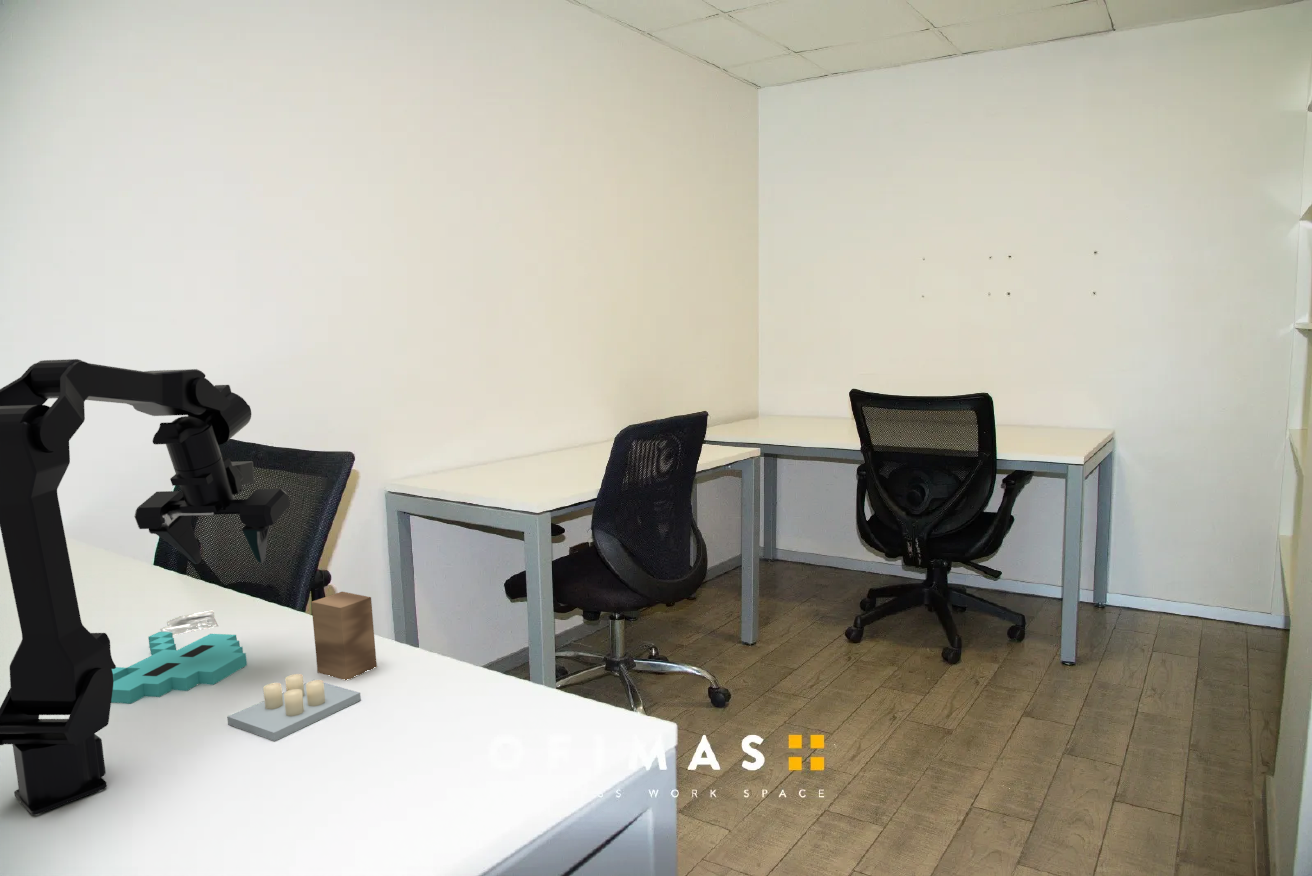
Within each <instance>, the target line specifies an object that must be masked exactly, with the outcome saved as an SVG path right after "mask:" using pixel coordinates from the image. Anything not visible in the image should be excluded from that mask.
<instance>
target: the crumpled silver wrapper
mask: <svg viewBox="0 0 1312 876" xmlns="http://www.w3.org/2000/svg"><path fill="white" fill-rule="evenodd" d="M166 625H167V626H165V627H162V628H160V629H159V631H160V632H172V635H173V636H177V635H181V634H186V633H191V632H195V631H196V630H192V629H200V630H201V629H202V630H206V629H211V628H216V627H217V628H218V627H219V624H218V622H217V620H216V617H215V612H214V610H213V609H211V610H205V611H201V612H196V613H191V614H186V615H181V616H178V617H174V618H172V619H170V620H167V621H166ZM208 625H211V626H208ZM196 626H197V627H196ZM187 629H188V630H187ZM200 630H199V631H200ZM202 630H201V631H202Z"/></svg>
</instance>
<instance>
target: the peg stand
mask: <svg viewBox="0 0 1312 876" xmlns="http://www.w3.org/2000/svg"><path fill="white" fill-rule="evenodd" d="M284 678H285V688H286V689H285V690H286V691H284V692H283V689H282V683H281V682H273V683H267V684H266V685H264V686H263V689H262V690H263V699H264V700H263V701H260V702H258V703H256V704H253V705H251V706H248V707H246V708H244V709H241V710H238V711H237V712H234V713H232V714H230V715H227V720H226V721H227V725H229V726H231V727H234V728H237V729H239V730H242V731H245V732H248V733H251V734H254V735H257V736H259V737H262V738H265V739H268V740H270V741H274V742H277V741H278V740H280V739H283V738H285V737H287V736H289V735H291V734H293V733H295V732H297V731H299V730H301V729H304V728H306V727H307V726H309V725H312V724H314V723H316V722H318V721H320V720H322V719H325V718H327V717H329V716H331V715H333V714H335V713H337V712H339V711H341V710H343V709H346V708H347V707H349V706H352V705H354V704H356V703H358V702H360V701H362V699H361V698H362V697H361V692H359V691H355V690H352V689H348V688H345V687H342V686H337V685H334V684H330V683H327V682H324V680H322V679H312V680H310V681H307V682H305V683H304V676H303V674H300V673H294V674H290V675H287V676H286V677H284ZM355 702H356V703H355Z"/></svg>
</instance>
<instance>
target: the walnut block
mask: <svg viewBox="0 0 1312 876" xmlns="http://www.w3.org/2000/svg"><path fill="white" fill-rule="evenodd" d="M310 603H311V613H312V615H311V616H312V624H313V637H314V647H315V658H316V668H317V673H318V674H321V675H325V676H328V675H330V676H329V677H332V676H333V677H332V678H337V679H339V680H342V679H345V680H344V681H346V680H347V679H350V680H352V679H354V678H355V677H354V676H356V675H359V676H361V675H363V674H365V673H366V672H365V671H367V670H370V671H372V670H374V669H375V668H374V667H376V666H377V667H378V665H377V653H376V643H375V642H376V641H375V640H376V639H375V631H374V630H375V629H374V618H373V603H372V597H371V596H366V595H362V594H357V593H351V592H346V591H340V592H337V593H334V594H331V595H328V596H325V597H324V596H323V597H322V598H318V599H315V600H313V601H310ZM373 668H374V669H373ZM371 669H372V670H371ZM364 672H365V673H364ZM362 673H363V674H362ZM360 674H361V675H360ZM353 677H354V678H353ZM356 677H357V676H356ZM351 678H352V679H351ZM347 681H348V680H347Z"/></svg>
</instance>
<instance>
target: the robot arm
mask: <svg viewBox="0 0 1312 876" xmlns="http://www.w3.org/2000/svg"><path fill="white" fill-rule="evenodd" d="M49 399H56V400H55V401H54V402H53V403H52V405H51V406H49V405H47V404H45V403H46V402H47V401H48V400H49ZM85 401H95V402H102V403H103V402H105V403H106V402H107V403H116V404H126V405H129V406H132V407H133V409H135V410H136V411H137V412H140V413H143V414H146V415H148V416H152V417H165V416H180V417H177V418H175V419H173V420H172V421H171V422H160V423H159V428H158V429H157V431H156V432H155V433H154V435H153V438H152V444H153V445H165V446H166V449H167V452H168V455H169V458H170V461H171V463H172V467H173V470H174V475H173V476H171V477H170V479H169V480H170V482H171V483H170V484H171V485H172V486H173V487H174V486H177V487H178V486H179V487H180V490H172V491H155V493H153V494H152V495H151V496H149V498H147V499H146V500H145V501H143V502H142V503H141V504H140V505H139V506H137V507H136V509H135V513H134V519H135V521H136V525H137V528H138V529H139V530H148V533H149V534H151V535H153V534H154V535H156V536H158V537H159V538H161V539H162V540H163V541H165V542H166V543H168V544H169V545H171V546H172V547H173V548H174V549H176V550H177V551H178V552H180V553H181V554H182V555H184V557H186V558H187V559H188V560H189V561H191V562H192V563H193V564H195V565H196V564H197V565H198V564H199V563H200V562H201V561H202V555H201V550H200V547H199V544H198V540H197V538H196V535H195V532H194V528H193V527H192V516H214V515H238V516H239V519H240V521H241V523H242V524H244V525H245V526H243V528H242V529H241V530H242V533H243V535H244V536H245V539H246V541H247V543H248V545H249V548H250V549H251V552H252V554H253V556H254V557H255V560H256V561H257V562H258V563H259V564H262V563H263V562H264V561H265V560H266V556H267V555H266V554H267V548H268V547H267V546H268V539H269V538H268V537H269V532H270V527H271V526H272V525H274V524H275V523H276V522H277V521H278V520H279V519H280V517H281V516H282V515H283V514H284V513H285V512H286V511H287V510H288V508H289V507H290V506H291V502H290V497H289V494H288V493H287V492H286V491H285V490H284V489H281V488H259V489H258V488H257V489H255V490H254V492H253V493H252V494H250V496H249V497H248V498H246V499H244V498H241V499H240V498H237V499H236V498H235V495H239V494H241V493H242V492H243V491H244V488H243V486H245V485H249V484H250V485H254V484H255V475H254V474H255V472H254V462H253V461H252V460H251V461H249V460H248V461H246V460H245V461H232V460H231V459H230V458H229V457H223V455H222V453H221V450H220V445H223V444H225V443H227V442H229V441H230V439H232V438H233V437H234V436H235V435H236V434H238V433H239V432H240V431H241V430H243V428H245V427H246V426H247V425H248V424H249V423H250V421H251V419H252V409H251V406H250V405H249V404H248V403H247V401H246V400H245V399H244V398H243V397H242V396H240V395H239V394H236V393H235V392H232V389H231V385H230V384H216V385H214V384H213V383H212V382H211V381H210V380H209V379H207V378H206V374H205V373H204V372H203V370H200V369H197V368H196V369H195V368H193V369H191V368H190V369H167V370H166V369H163V370H161V369H160V370H146V371H141V370H137V369H128V368H124V367H123V368H121V367H115V366H110V365H109V366H108V365H101V364H95V363H91V362H90V363H88V362H86V361H84V360H81V359H78V358H75V359H74V358H73V359H72V358H71V359H70V358H69V359H49V360H48V359H47V360H39V361H38V362H35V363H33V364H32V365H30V366H29V367H28V368H27V370H25V372H24V373H23V374H22V375H21V376H20V377H18V378H17V379H15V380H14V381H12V382H10V383H8V384H7V385H5V386H3V387H1V388H0V533H1V538H2V543H3V547H4V552H5V557H6V558H5V559H6V562H7V565H8V572H9V577H10V581H11V586H12V592H13V596H14V602H15V607H16V611H17V618H18V622H19V626H20V631H21V641H20V643H19V645H18V647H17V650H16V651H15V654H14V656H13V658H12V659H11V661H10V664H9V682H10V683H9V685H10V687H9V690H8V692H7V693H6V695H5V697H4V699H3V701H2V704H1V705H0V746H5V745H12V750H13V758H14V763H15V764H14V765H15V771H16V779H17V788H18V789H16V790H14V798H15V799H17V800H18V802H19V803H20V804H21V805H22V806H23V807H24V808H25V810H27V812H29V813H30V815H31V816H36V815H39V814H42V813H45V812H47V811H50V810H52V809H55V808H58V807H60V806H63V805H66V804H68V803H70V802H74V801H76V800H79V799H81V798H84V797H86V796H89V795H91V794H95V793H97V792H99V791H102V790H104V789H106V788H107V787H108V784H107V781H106V780H105V779H104V778H103V777H104V776H106V773H107V772H106V764H105V758H104V749H103V748H104V747H103V740H102V738H101V737H100V736H98V735H97V734H96V733H98V732H100V731H102V730H103V729H105V727H107V726H108V725H109V721H110V716H111V714H110V713H111V706H112V703H111V699H112V692H113V682H114V680H113V672H112V669H115V668H116V667H117V665H116V664H115V663H114V660H113V658H112V652H111V640H110V638H109V636H108V634H107V633H106V632H90V631H89V630H88V629H87V628H86V627H85V626H84V625H83V622H82V618H81V613H80V609H79V603H78V597H77V592H76V588H75V582H74V580H75V579H74V575H73V571H72V570H73V569H72V566H71V561H70V555H69V549H68V544H67V540H66V534H65V528H64V524H63V523H64V522H63V517H62V513H61V507H60V501H59V495H58V488H59V486H60V484H61V482H62V480H63V478H64V475H65V474H66V472H67V469H68V468H69V466H70V464H71V462H70V460H71V458H70V457H71V454H70V440H71V439H72V438H73V436H74V435H75V434H76V433H77V431H78V430H79V429H80V427H81V426H82V424H83V423H84V422H85V419H86V418H85V416H86V415H85ZM40 716H69V717H68V718H40Z"/></svg>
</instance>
